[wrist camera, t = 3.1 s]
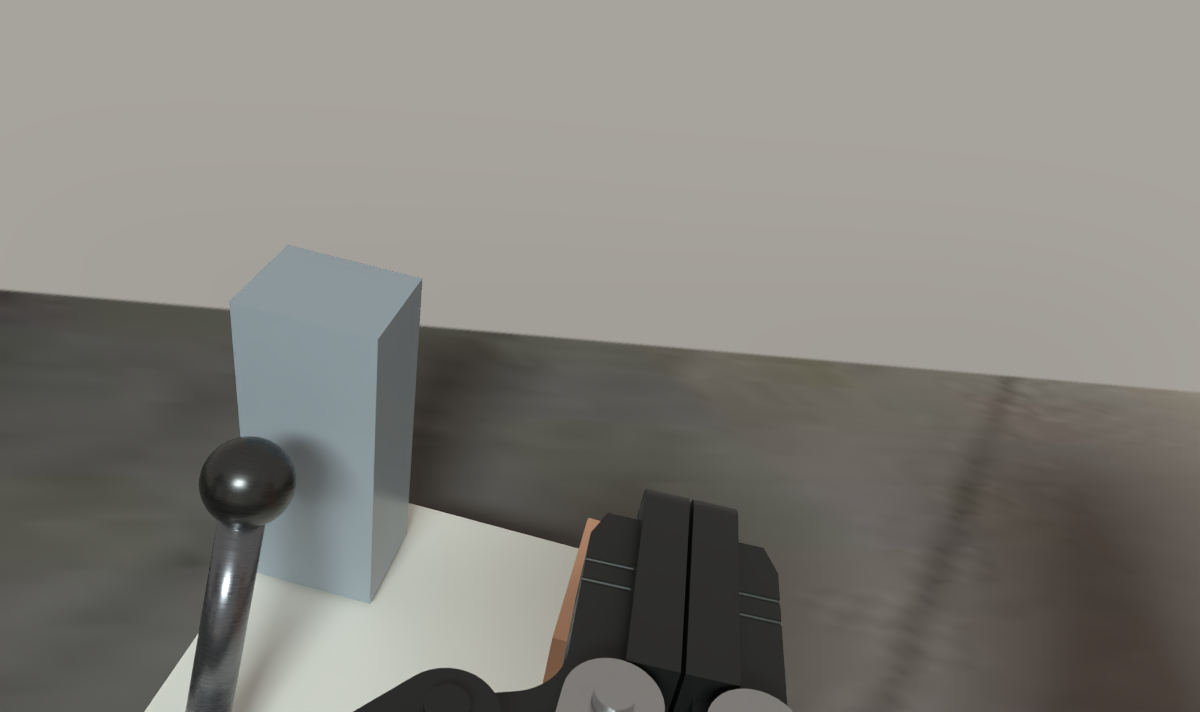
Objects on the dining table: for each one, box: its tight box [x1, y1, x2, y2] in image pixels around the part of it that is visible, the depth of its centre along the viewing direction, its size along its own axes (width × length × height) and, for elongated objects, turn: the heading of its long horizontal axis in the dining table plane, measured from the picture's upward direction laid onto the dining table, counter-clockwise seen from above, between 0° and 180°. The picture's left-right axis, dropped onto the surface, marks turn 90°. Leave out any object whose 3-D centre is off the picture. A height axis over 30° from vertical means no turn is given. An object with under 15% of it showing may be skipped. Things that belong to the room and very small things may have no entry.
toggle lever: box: [185, 436, 296, 712], centre depth 29 cm, size 3×3×11 cm
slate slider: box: [230, 245, 422, 604], centre depth 35 cm, size 4×5×13 cm
